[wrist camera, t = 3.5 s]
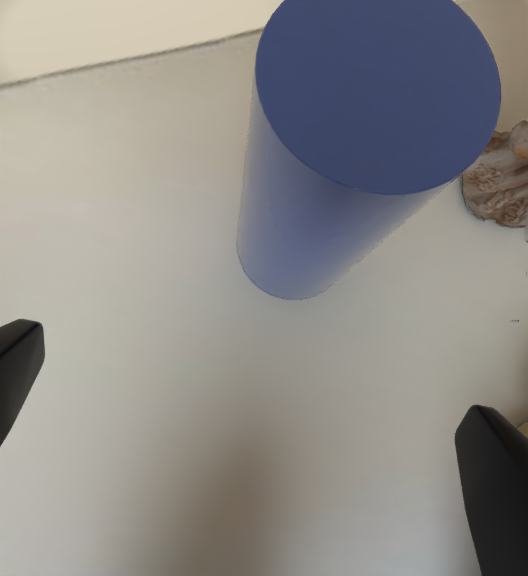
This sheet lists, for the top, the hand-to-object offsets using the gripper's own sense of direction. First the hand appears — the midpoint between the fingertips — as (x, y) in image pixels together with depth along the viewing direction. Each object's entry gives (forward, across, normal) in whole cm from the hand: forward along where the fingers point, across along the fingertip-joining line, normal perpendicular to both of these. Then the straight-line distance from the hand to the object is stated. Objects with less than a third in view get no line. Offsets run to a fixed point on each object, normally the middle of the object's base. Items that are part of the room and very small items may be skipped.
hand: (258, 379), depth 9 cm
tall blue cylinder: (+15, -2, +4) cm, 16 cm away
